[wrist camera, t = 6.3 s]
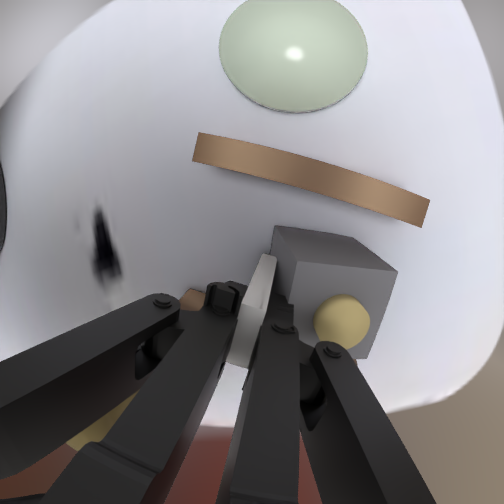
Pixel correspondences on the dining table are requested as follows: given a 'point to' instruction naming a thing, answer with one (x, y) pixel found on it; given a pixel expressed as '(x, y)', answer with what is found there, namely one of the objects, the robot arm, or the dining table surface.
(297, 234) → the plug
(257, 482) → the robot arm
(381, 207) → the guide channel
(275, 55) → the saucer
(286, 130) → the dining table surface
